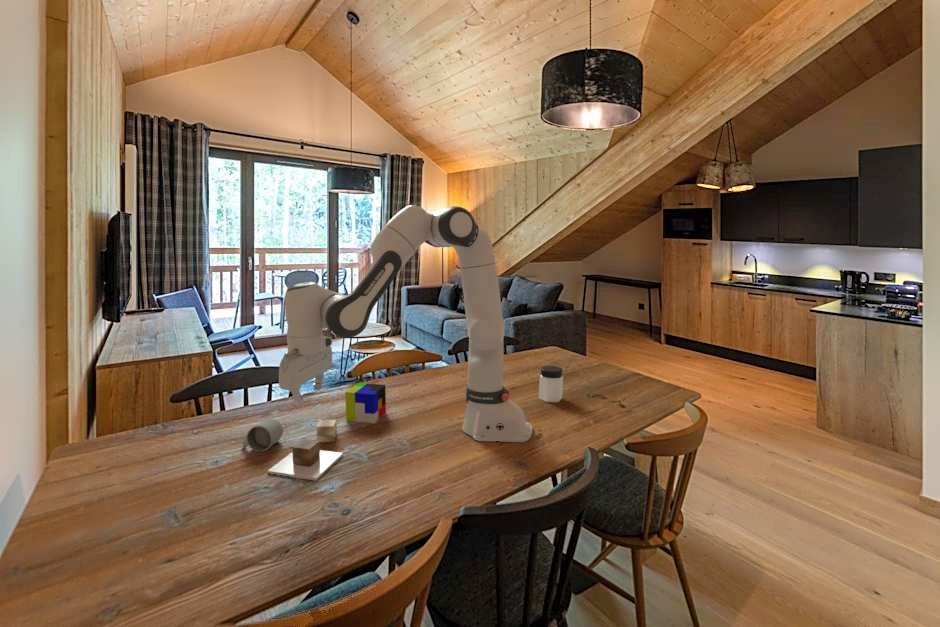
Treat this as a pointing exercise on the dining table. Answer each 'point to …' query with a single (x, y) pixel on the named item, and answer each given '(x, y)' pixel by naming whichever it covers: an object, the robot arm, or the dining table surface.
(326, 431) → the maple block
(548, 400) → the jar
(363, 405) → the puzzle toy
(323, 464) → the white coaster
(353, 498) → the dining table surface
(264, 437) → the ceramic mug
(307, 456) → the walnut block
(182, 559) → the dining table surface
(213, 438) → the dining table surface
